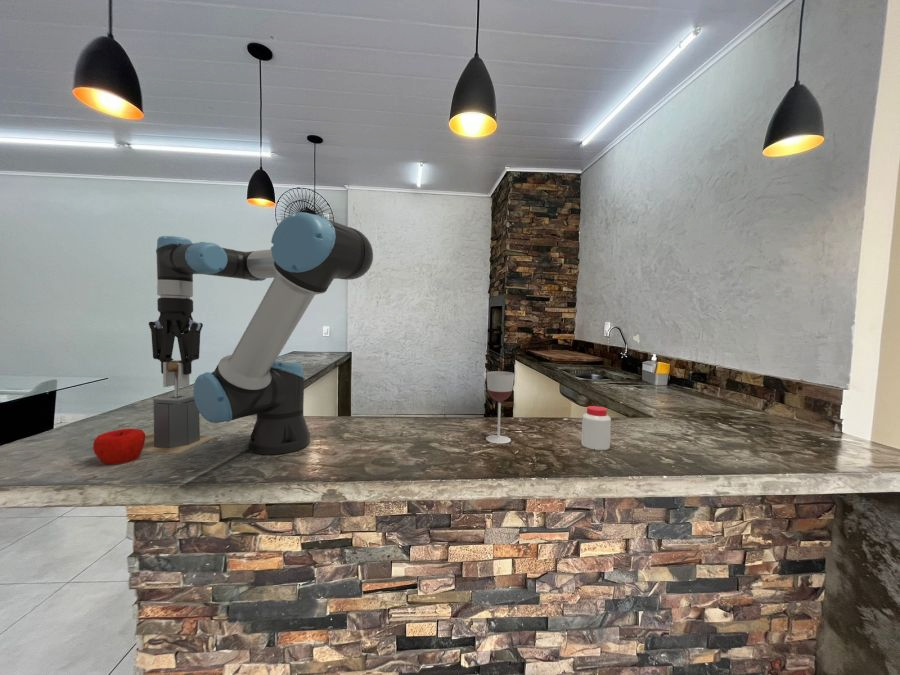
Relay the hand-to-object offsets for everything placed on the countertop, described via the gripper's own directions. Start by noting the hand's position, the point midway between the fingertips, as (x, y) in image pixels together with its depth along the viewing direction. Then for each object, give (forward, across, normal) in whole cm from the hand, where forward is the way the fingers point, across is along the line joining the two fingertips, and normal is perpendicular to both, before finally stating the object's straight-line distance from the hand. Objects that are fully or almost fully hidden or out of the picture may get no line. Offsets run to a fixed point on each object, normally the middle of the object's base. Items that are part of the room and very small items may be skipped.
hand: (176, 386), depth 98 cm
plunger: (+13, 0, 0) cm, 13 cm away
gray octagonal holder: (+15, 0, -1) cm, 15 cm away
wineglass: (+16, -86, -20) cm, 90 cm away
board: (+16, +4, +1) cm, 17 cm away
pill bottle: (+16, -114, -19) cm, 117 cm away
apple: (+16, +2, +13) cm, 21 cm away
